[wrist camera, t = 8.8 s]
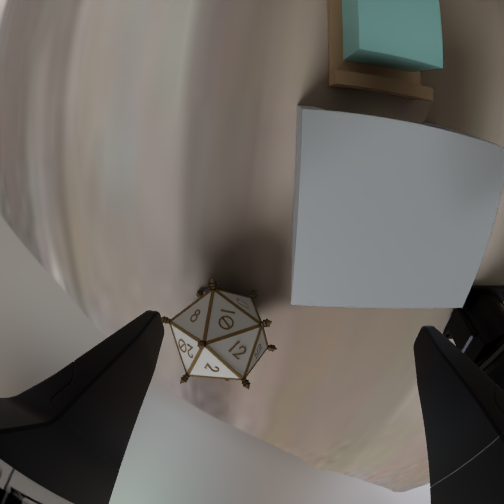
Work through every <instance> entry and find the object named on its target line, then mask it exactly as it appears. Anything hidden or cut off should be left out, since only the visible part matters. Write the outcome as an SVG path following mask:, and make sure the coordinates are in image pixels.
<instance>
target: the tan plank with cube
mask: <svg viewBox="0 0 504 504" xmlns="http://www.w3.org/2000/svg"><path fill="white" fill-rule="evenodd" d="M327 7H328V48H329V71H328V86H334V87H343V88H351V89H359V90H366V91H373V92H379V93H385V94H390V95H396V96H401V97H405V98H410V99H417V100H429V101H433V99H434V88H431V87H427V86H423V85H421V71H416V72H408V71H403V70H399V69H394V68H389V67H384V66H379V65H373V64H367V63H361V62H354V61H346V60H343V20H342V0H327Z"/></svg>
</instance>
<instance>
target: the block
mask: <svg viewBox="0 0 504 504" xmlns="http://www.w3.org/2000/svg"><path fill="white" fill-rule="evenodd" d="M342 20H343V60H346V61H354V62H361V63H367V64H373V65H379V66H384V67H389V68H394V69H399V70H403V71H408V72H416V71H423V70H431V69H441V68H443V44H442V27H441V15H440V6H439V0H342Z"/></svg>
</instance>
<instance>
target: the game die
mask: <svg viewBox="0 0 504 504" xmlns="http://www.w3.org/2000/svg"><path fill="white" fill-rule="evenodd" d="M209 284H210V287H211V289H210V290H209V291H208V292H206V293H205V294H204V295H203V293H202V291H199V290H198V292H197V296H198V297H199V299H197V300H196V301H195V302H193V303H192V304H191V305H189V306H188V307H187V308H185V309H184V310H183V311H181V312H180V313H179V314H177V315H176V316H175V317H173V318H172V319H169V318H168V317H165V316H164V317H161V319H162V323H165V324H166V323H169V324H170V327H171V330H172V333H173V336H174V339H175V342H176V345H177V348H178V351H179V354H180V357H181V360H182V363H183V366H184V369H185V372H186V374H185V375H184V376H183V377H182V378H181V381H180V384H181V383H184V382H186V381H187V380H188V378H189V377H190V376H192V377H202V378H214V379H225V380H227V381H229V380H242V384H243V386H244V387H246V388H247V389H249V386H250V383H249V382H248V381H249V380H247V379H246V377H247V375H248V374H249V373H250V371H251V370H252V369H253V367H254V366H255V365H256V363H257V362H258V361H259V359H260V358H261V356H262V355H263V354H264V352H265V351H266V350H267V349H268V350H269V351H270V350H271V351H272V352H273V351H274V350H276V349H277V348H276V347H275V345H268V343H267V339H266V335H265V331H264V327H267V326H268V327H269V326H270V324H271V323H272V321H270V320H268V319H266V320H263V322H262V321H261V318H260V316H259V313H258V311H257V308H256V306H255V303H254V301H253V298H256V296H257V292H258V290H256V291H252V293H251V295H250V297H248V296H244V295H240V294H236V293H232V292H228V291H223V290H219V289H216V286H217V285H216V281H215V280H214V279H213V278H211V280H210V282H209Z"/></svg>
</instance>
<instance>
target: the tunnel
mask: <svg viewBox="0 0 504 504" xmlns="http://www.w3.org/2000/svg"><path fill="white" fill-rule="evenodd" d="M503 183H504V147H502V146H499V145H497V144H494V143H491V142H489V141H486V140H483V139H480V138H477V137H475V136H472V135H469V134H466V133H463V132H459V131H456V130H453V129H450V128H446V127H443V126H439V125H436V124H431V123H427V122H424V125H423V124H419V123H414V122H409V121H403V120H398V119H392V118H386V117H380V116H373V115H366V114H359V113H350V112H341V111H331V110H324V109H321V108H318V107H314V106H304V105H297V131H296V162H295V187H294V207H293V225H292V280H291V305H306V306H328V307H357V308H462V307H463V305H464V303H465V300H466V298H467V296H468V294H469V291H470V289H471V287H472V284H473V282H474V279H475V277H476V274H477V272H478V269H479V266H480V264H481V261H482V258H483V255H484V252H485V249H486V246H487V243H488V240H489V237H490V234H491V231H492V227H493V224H494V220H495V217H496V213H497V209H498V205H499V201H500V197H501V193H502V188H503Z"/></svg>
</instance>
